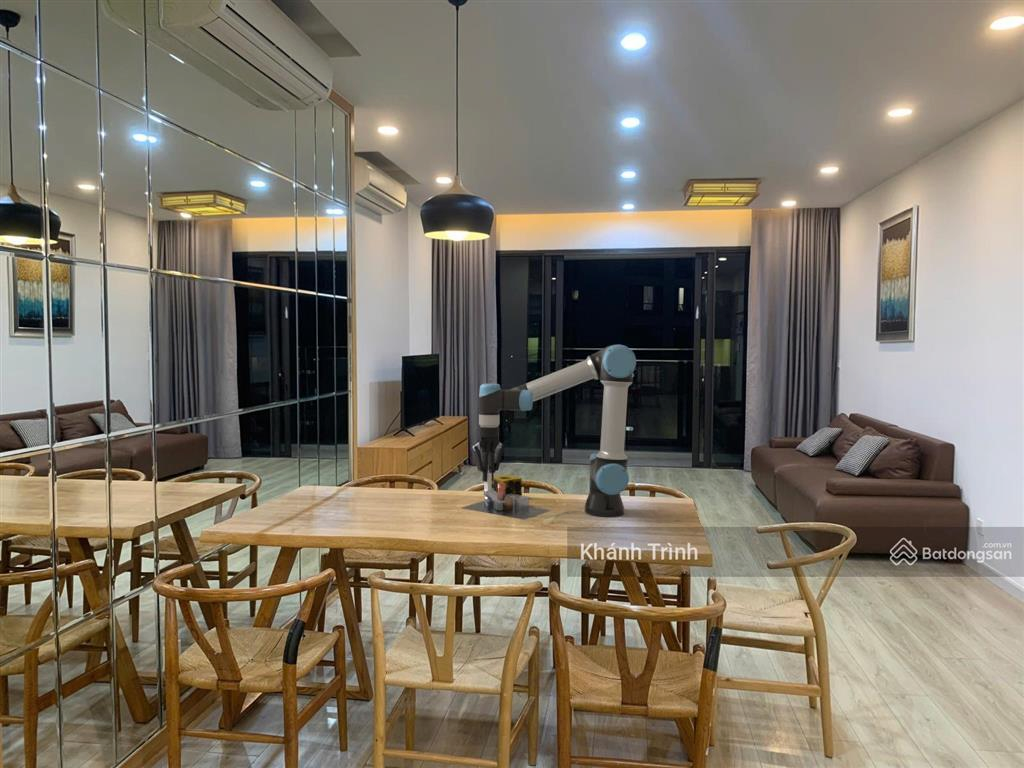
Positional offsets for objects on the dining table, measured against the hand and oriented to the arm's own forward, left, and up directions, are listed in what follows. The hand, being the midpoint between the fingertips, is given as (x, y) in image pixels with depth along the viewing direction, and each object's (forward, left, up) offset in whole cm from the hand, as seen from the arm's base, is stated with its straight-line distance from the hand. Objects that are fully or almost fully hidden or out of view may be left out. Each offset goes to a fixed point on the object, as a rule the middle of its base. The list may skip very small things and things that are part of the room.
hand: (487, 490), depth 244 cm
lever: (+3, -9, -9) cm, 13 cm away
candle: (+13, -30, -11) cm, 35 cm away
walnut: (+1, -14, -10) cm, 17 cm away
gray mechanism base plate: (+1, -13, -11) cm, 17 cm away
